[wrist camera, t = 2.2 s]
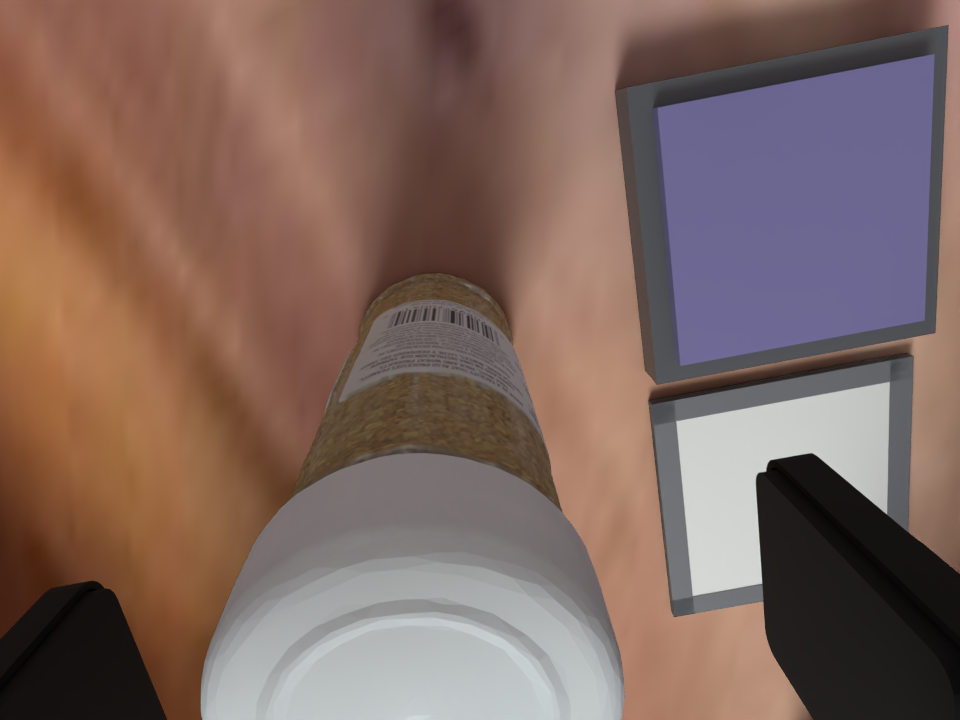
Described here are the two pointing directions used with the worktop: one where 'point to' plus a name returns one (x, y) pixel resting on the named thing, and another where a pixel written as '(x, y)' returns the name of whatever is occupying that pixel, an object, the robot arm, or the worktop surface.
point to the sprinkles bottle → (420, 545)
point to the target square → (746, 452)
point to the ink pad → (786, 204)
